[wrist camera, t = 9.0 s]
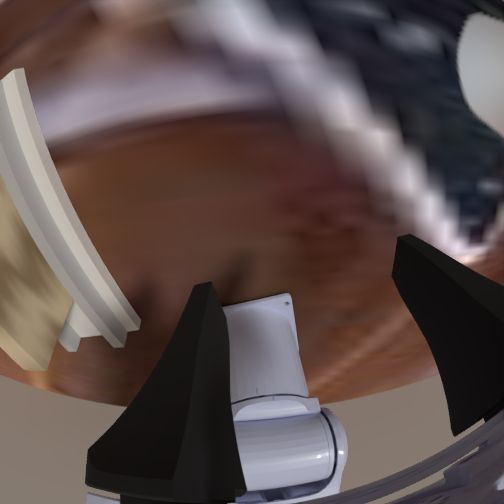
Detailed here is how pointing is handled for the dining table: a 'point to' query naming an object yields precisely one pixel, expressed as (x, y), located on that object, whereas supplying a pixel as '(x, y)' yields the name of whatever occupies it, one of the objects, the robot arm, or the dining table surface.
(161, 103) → the dining table surface
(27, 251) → the oak frame
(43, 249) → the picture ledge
